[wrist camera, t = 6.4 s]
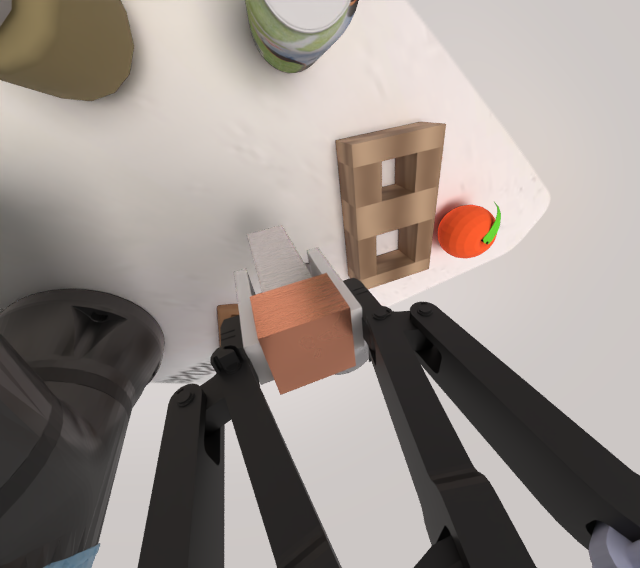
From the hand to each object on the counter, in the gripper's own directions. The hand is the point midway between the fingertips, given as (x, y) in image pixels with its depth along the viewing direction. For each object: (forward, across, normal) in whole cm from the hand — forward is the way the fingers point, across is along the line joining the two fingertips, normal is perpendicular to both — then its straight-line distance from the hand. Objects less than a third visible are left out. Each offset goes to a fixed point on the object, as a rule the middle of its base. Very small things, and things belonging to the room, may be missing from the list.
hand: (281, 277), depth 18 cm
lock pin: (+5, 0, 0) cm, 5 cm away
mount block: (+14, +15, -4) cm, 21 cm away
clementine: (+14, +26, -8) cm, 31 cm away
